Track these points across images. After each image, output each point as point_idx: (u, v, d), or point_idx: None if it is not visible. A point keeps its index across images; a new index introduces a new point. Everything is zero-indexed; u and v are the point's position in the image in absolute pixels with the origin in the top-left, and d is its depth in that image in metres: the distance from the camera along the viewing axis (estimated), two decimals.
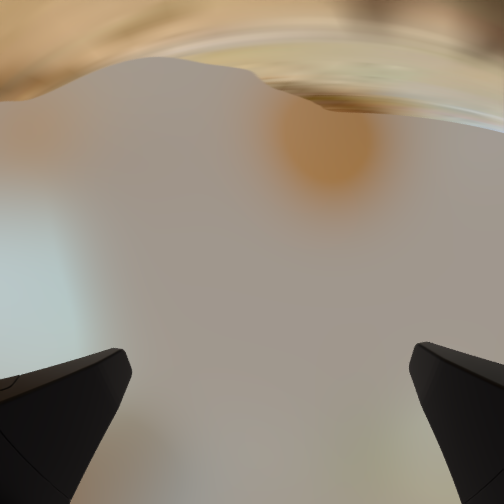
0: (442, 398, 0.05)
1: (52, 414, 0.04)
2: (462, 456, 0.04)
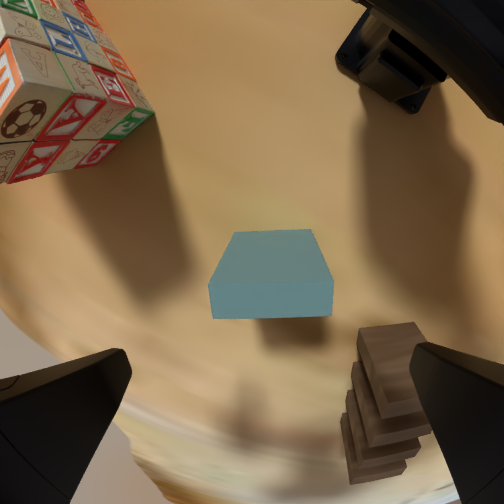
0: (442, 398, 0.05)
1: (52, 414, 0.04)
2: (463, 456, 0.04)
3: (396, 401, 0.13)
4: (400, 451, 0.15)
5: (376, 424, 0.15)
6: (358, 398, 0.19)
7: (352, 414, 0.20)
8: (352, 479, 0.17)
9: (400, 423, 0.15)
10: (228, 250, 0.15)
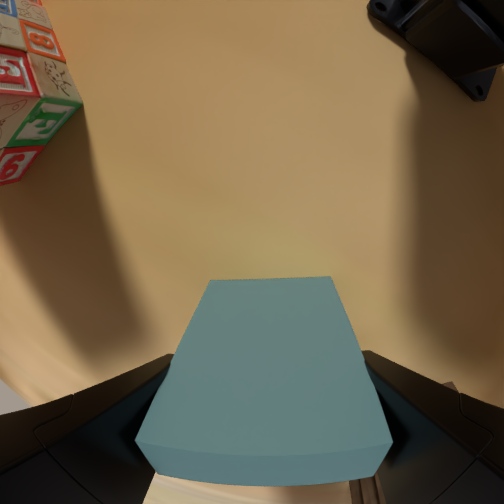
0: None
1: (119, 437, 0.04)
2: (395, 479, 0.04)
3: None
4: None
5: None
6: (376, 475, 0.12)
7: (366, 486, 0.13)
8: None
9: None
10: (191, 330, 0.08)
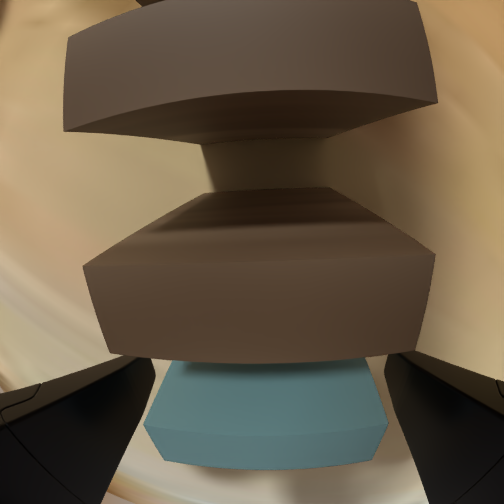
0: (413, 405, 0.05)
1: (79, 424, 0.04)
2: (434, 467, 0.04)
3: None
4: None
5: None
6: None
7: None
8: (94, 293, 0.04)
9: None
10: None
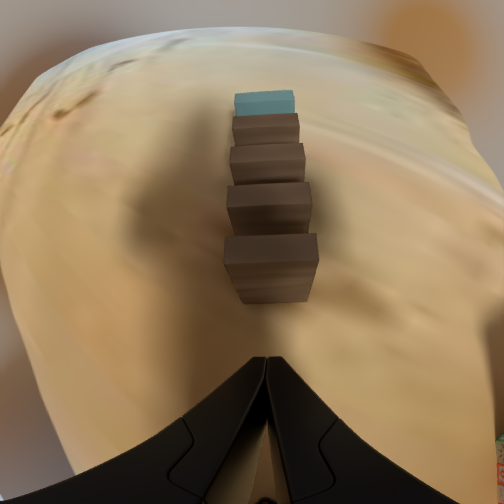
0: (268, 422, 0.06)
1: (244, 456, 0.04)
2: None
3: (307, 259, 0.15)
4: (257, 162, 0.18)
5: (305, 212, 0.17)
6: None
7: None
8: (298, 122, 0.20)
9: (276, 210, 0.17)
10: None
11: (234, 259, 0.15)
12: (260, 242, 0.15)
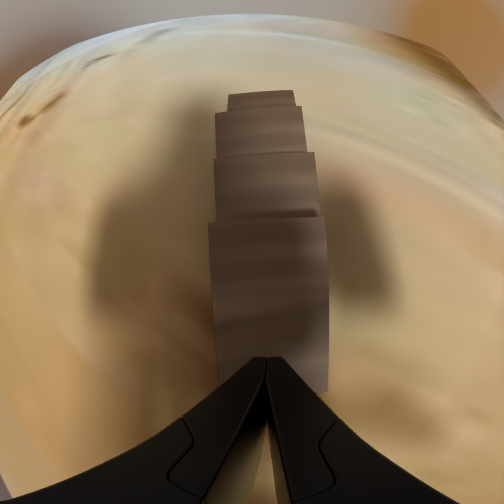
0: (268, 422, 0.06)
1: (244, 456, 0.04)
2: None
3: (311, 218, 0.12)
4: (246, 111, 0.15)
5: (308, 170, 0.13)
6: None
7: None
8: None
9: (272, 166, 0.13)
10: None
11: (221, 222, 0.12)
12: None
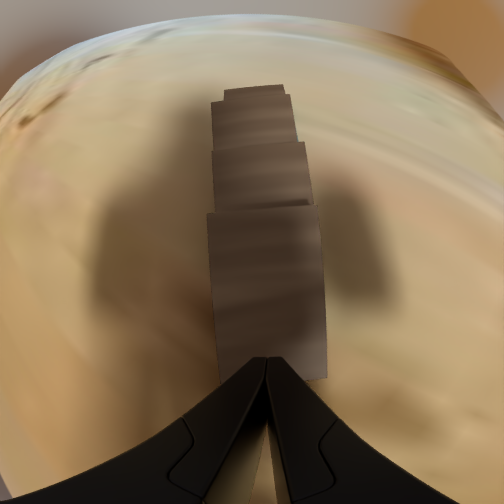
0: (268, 422, 0.06)
1: (244, 456, 0.04)
2: None
3: (304, 206, 0.13)
4: (240, 99, 0.16)
5: (300, 158, 0.14)
6: None
7: None
8: None
9: (266, 155, 0.14)
10: None
11: (219, 213, 0.13)
12: None
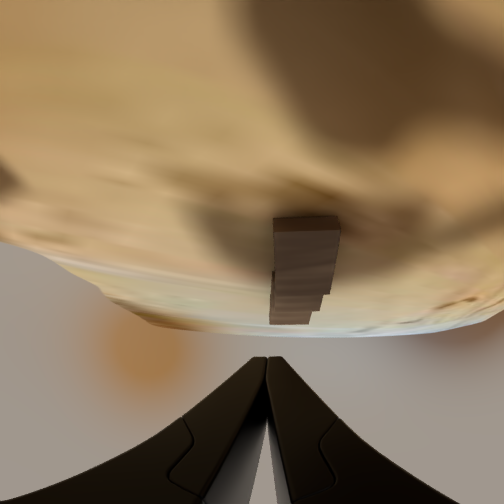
0: (268, 422, 0.06)
1: (244, 456, 0.04)
2: None
3: (282, 295, 0.26)
4: None
5: (278, 307, 0.30)
6: None
7: (271, 297, 0.32)
8: None
9: (294, 308, 0.30)
10: None
11: (323, 292, 0.26)
12: None
